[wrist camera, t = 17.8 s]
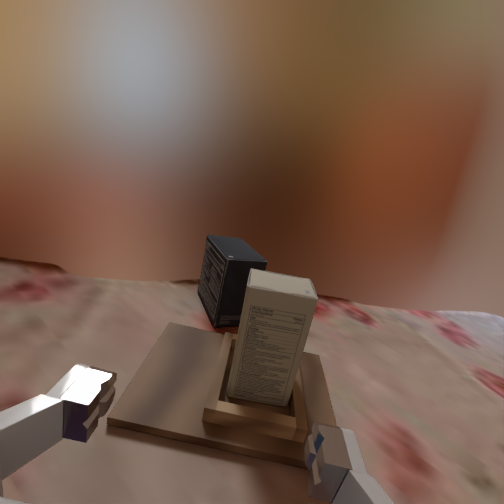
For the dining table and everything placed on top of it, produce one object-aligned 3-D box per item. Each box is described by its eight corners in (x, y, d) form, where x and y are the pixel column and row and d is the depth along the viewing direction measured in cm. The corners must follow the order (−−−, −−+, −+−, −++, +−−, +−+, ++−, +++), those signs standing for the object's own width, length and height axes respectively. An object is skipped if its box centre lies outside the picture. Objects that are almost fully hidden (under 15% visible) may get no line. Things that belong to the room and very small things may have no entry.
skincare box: (284, 376, 30) (314, 278, 26) (287, 409, 26) (323, 299, 22) (228, 364, 30) (250, 265, 26) (222, 396, 26) (247, 284, 22)
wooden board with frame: (106, 424, 22) (107, 403, 21) (168, 327, 35) (170, 312, 35) (344, 477, 22) (353, 457, 21) (317, 360, 35) (322, 345, 35)
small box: (255, 325, 40) (270, 261, 37) (213, 329, 37) (226, 259, 34) (231, 291, 49) (242, 236, 46) (196, 291, 46) (205, 233, 43)
